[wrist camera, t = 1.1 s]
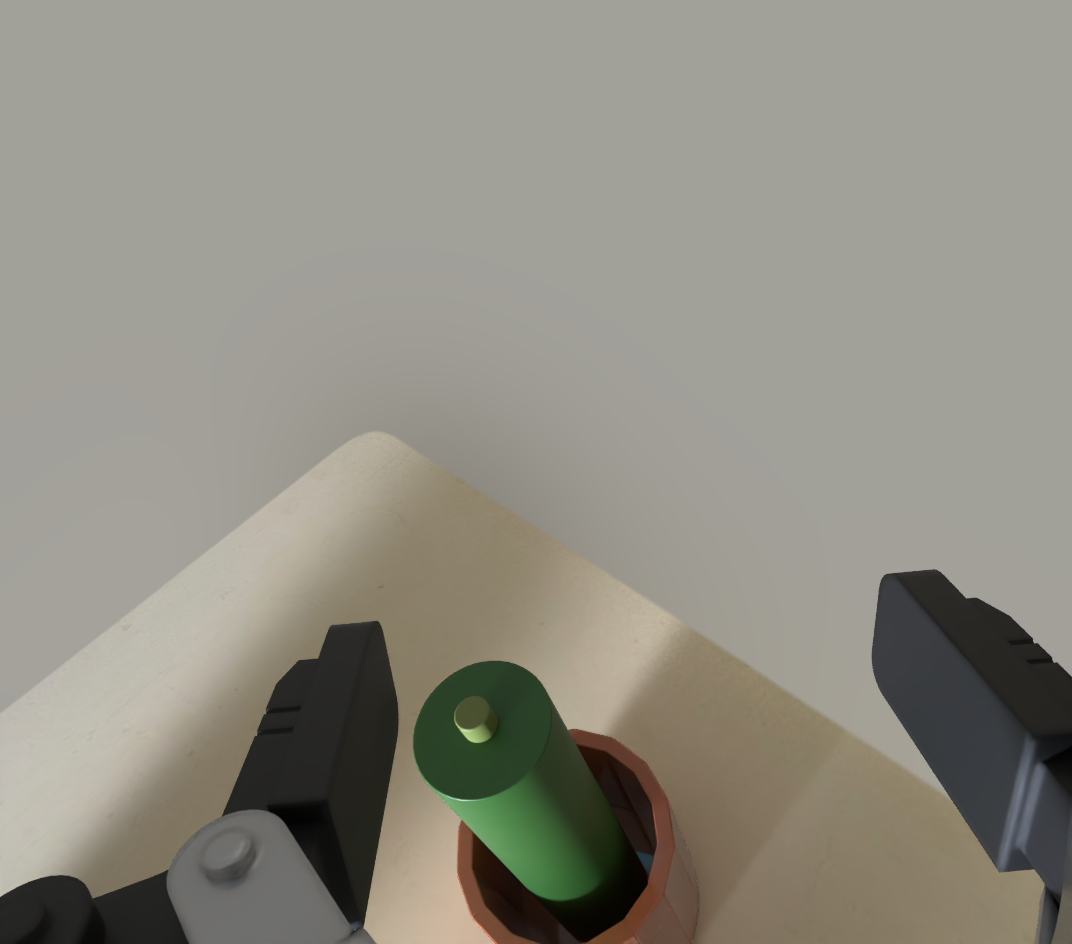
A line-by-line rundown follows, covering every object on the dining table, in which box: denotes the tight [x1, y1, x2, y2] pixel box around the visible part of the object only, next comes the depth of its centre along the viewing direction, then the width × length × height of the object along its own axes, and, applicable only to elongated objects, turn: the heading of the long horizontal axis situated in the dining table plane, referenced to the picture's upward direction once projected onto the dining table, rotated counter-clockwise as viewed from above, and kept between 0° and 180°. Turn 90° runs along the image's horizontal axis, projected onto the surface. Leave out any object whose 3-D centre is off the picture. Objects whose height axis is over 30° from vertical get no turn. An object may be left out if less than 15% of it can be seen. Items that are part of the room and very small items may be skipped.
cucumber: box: [413, 661, 648, 942], centre depth 26 cm, size 4×4×16 cm
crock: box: [457, 729, 699, 944], centre depth 29 cm, size 8×8×7 cm
